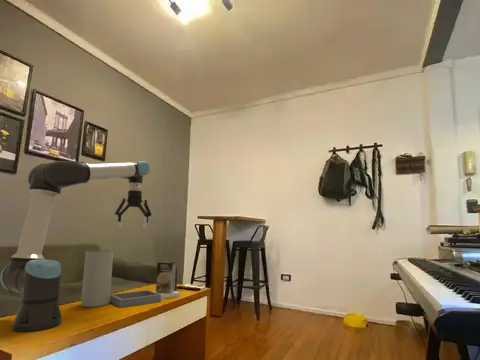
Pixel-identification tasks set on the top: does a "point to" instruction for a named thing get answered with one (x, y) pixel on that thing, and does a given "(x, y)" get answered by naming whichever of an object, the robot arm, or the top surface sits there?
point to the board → (169, 294)
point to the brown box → (176, 279)
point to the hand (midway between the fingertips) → (132, 228)
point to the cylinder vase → (97, 278)
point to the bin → (134, 298)
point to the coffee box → (165, 277)
